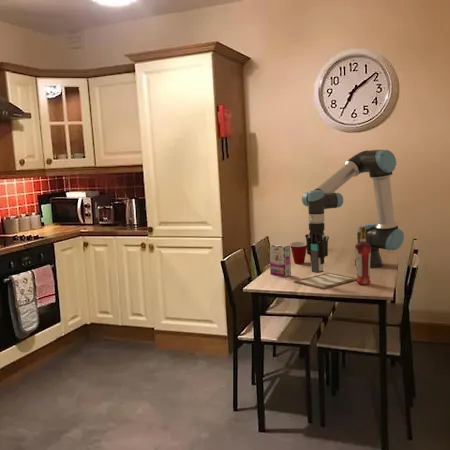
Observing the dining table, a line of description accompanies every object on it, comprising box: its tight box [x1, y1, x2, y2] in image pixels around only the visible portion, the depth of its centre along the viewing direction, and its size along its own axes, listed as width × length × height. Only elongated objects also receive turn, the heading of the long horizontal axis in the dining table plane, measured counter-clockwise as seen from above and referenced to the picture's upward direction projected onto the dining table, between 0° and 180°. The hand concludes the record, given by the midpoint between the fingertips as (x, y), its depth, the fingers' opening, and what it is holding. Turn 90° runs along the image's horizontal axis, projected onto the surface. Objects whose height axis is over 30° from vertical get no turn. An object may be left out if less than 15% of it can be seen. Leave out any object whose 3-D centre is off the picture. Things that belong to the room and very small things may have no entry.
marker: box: [310, 243, 324, 274], centre depth 250 cm, size 4×4×14 cm
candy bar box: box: [269, 243, 292, 278], centre depth 275 cm, size 11×5×16 cm, turn 40°
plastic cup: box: [289, 241, 307, 265], centre depth 303 cm, size 11×11×12 cm
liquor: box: [354, 227, 372, 286], centre depth 248 cm, size 7×7×28 cm
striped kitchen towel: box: [293, 272, 357, 290], centre depth 258 cm, size 26×20×1 cm
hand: (317, 269), depth 251 cm, fingers closed on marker, 4 cm apart
